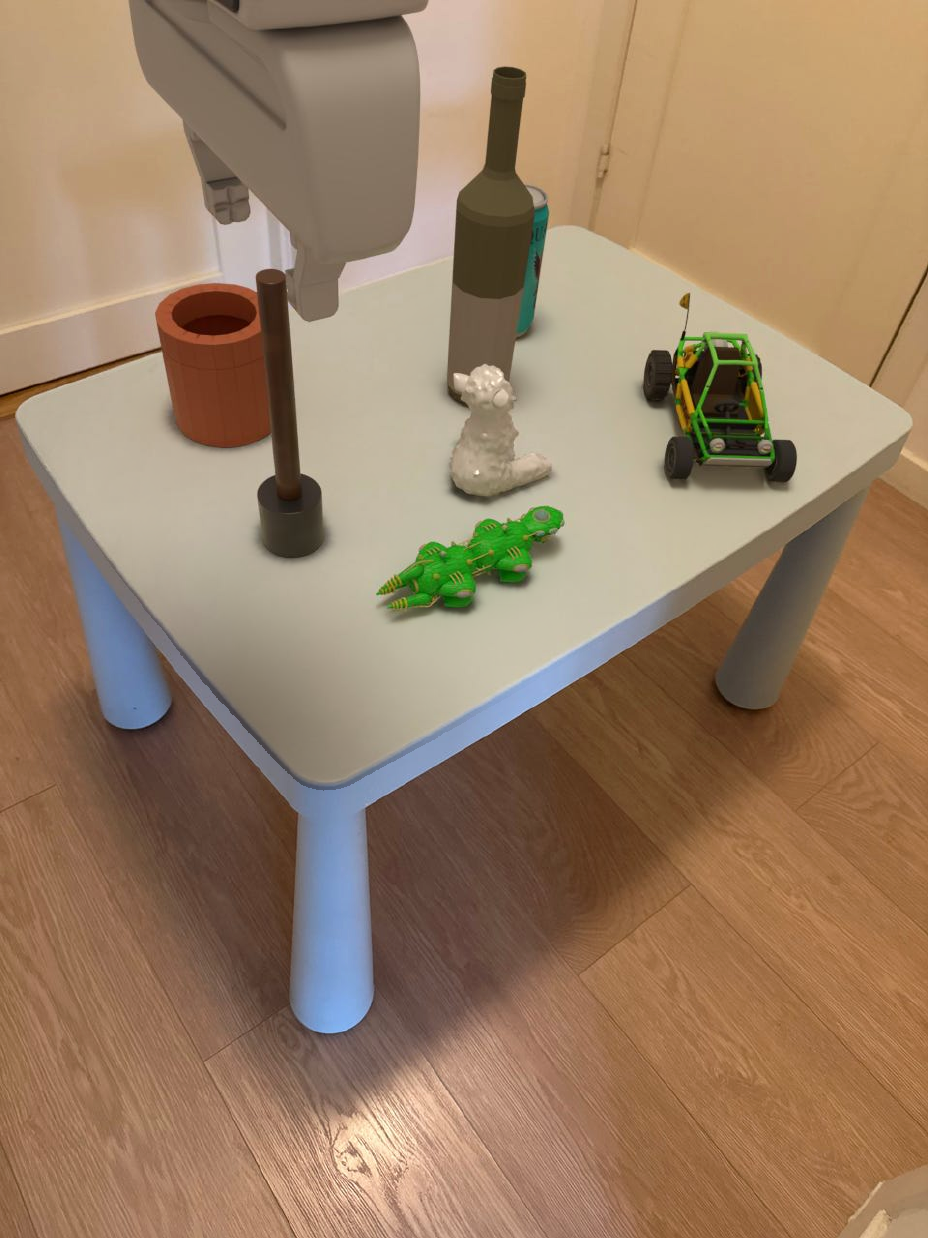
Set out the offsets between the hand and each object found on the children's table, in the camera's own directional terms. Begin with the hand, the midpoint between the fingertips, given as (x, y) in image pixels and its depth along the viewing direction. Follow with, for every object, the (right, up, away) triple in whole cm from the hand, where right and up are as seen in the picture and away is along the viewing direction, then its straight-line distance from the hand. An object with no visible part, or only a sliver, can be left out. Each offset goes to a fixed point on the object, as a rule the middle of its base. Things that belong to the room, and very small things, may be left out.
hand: (268, 261), depth 43 cm
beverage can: (+14, +16, +61) cm, 65 cm away
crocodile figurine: (+10, -13, +35) cm, 39 cm away
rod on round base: (-6, -10, +37) cm, 38 cm away
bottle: (+10, +7, +53) cm, 54 cm away
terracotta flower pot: (-14, +3, +47) cm, 49 cm away
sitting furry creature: (+11, -3, +44) cm, 45 cm away
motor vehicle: (+34, +2, +51) cm, 61 cm away
